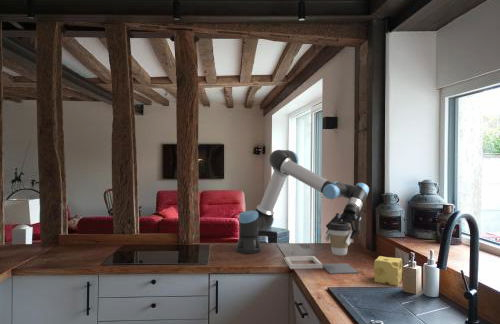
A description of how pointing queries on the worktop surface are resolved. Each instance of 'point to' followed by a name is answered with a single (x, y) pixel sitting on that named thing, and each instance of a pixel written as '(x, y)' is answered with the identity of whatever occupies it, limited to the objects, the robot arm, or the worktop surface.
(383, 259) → the cheese
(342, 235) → the coffee cup
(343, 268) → the rubber mat
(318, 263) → the holder frame
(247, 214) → the robot arm
